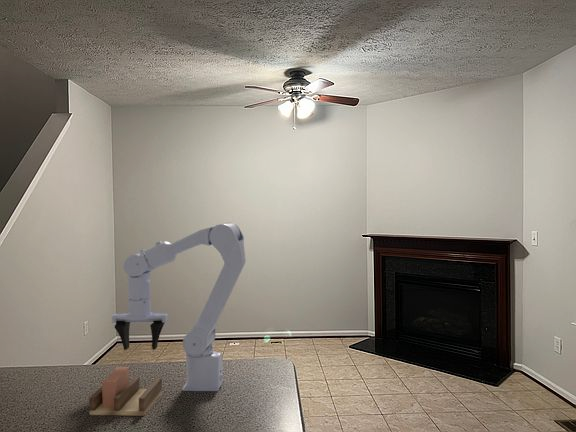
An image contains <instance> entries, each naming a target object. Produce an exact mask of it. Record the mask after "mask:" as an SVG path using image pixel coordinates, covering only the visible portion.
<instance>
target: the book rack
mask: <svg viewBox="0 0 576 432" xmlns="http://www.w3.org/2000/svg"><path fill="white" fill-rule="evenodd" d="M162 379H163V378H162V377H156V378H155V379H154V381H153V382H152V383H151V384H150V385H149V386H148V387H147V388H141V387H140V386H141V385H140V376H139V377H136V376H135V377H133V379H132V380H131V381H129V384H128V385H127V386H126V387H124V388H123V389H122V390H121V391H120V392H119V393H118V394H117V395H116V396H115V397H114V407H103V396H102V386H101V387H99V388H98V389H97V390H96V391H95V392H93V394H92V395H90V396H89V398H88V401H89V403H88V404H89V405H88V406H89V416H135V417H136V416H142V417H143V416H146V414H147V413H148V412H149V410H150V409H151V408H152V407H153V405H154V404H155V403H156V402H157V401H158V398H159V397H160V396H161V395H162V394H163V380H162Z"/></svg>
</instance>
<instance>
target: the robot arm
mask: <svg viewBox="0 0 576 432" xmlns="http://www.w3.org/2000/svg"><path fill="white" fill-rule="evenodd" d="M244 244H245V237H244V234H243V233H242V231H241V229H240V227H239V226H238V225H237V224H236V223H234V222H226V223H221V224H216V225H214V226H211V227H207V228H202V229H199V230H197V231H195V232H194V233H190V234H189V235H187V236H185V237H183V238H181V239H179V240H176V241H175V242H172V243H171V242H169V241H167V240H164V241H162V240H158V241H157V242H155V245H153V246H151V247H148V248H147V249H146V248H142V249H140V251H139V253H133V254H130V255H129V256H128V257H127V258H126V259H125V260H124V262H123V269H124V272H125V274H127V299H128V300H127V303H128V312H126V313H114V314H112V315H111V323H112V324H113V323H114V329H115V330H116V333H117V334H118V335H119V338H120V340H121V343H122V347H123V350H124V351H127V350H128V349H129V348H130V325H131V323H150V326H149V328H150V331H151V333H150V334H151V349H152V350H153V351H154V350H156V349H157V348H158V343H159V339H160V335H161V332H162V330H163V327H164V325H165V323H167V322H168V319H169V318H168V315H169V314H168V313H158V312H152V306H151V303H152V301H151V300H152V299H151V271H153V270H156V269H159V268H160V267H164V266H165V265H168V264H170V263H172V262H174V261H175V259H176V258H177V255H178V254H181V253H183V252H185V251H188V250H190V249H193V248H195V247H198V246H201V245H204V246H213V247H214V248H215V250H216V251H217V252H218V253H220V256H221V257H222V260H223V262H224V264H223V266H222V268H221V271H220V273H219V275H218V277H217V279H216V281H215V283H214V285H213V288H212V290H211V291H210V294H209V296H208V298H207V301H206V303H205V305H204V306H203V309H202V311H201V313H200V315H199V317H198V319H197V320H196V321H195V323H194V324H193V326H192V329H191V330H190V332H188V333H187V334H186V335H184V337H183V339H182V348H183V351H185V365H186V369H185V370H186V371H185V372H186V382H185V384H184V385H183V387H182V389H181V390H182V391H183V392H188V391H189V392H219V390H220V389H221V386H222V384H223V382H224V364H223V363H224V361H223V353H222V352H218V351H214V350H215V349H214V347H213V343H214V342H215V340H216V329H217V327H218V322H219V321H220V320H219V319H220V318H221V315H222V313H223V312H224V308H225V306H226V305H227V302H228V300H229V298H230V296H231V294H232V292H233V290H234V288H235V286H236V283H237V281H238V279H239V277H240V275H241V273H242V271H243V269H244V266H245V264H246V253H245V251H246V250H245V245H244Z"/></svg>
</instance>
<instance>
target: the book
mask: <svg viewBox="0 0 576 432" xmlns="http://www.w3.org/2000/svg"><path fill="white" fill-rule="evenodd" d="M129 368H130V367H129V366H121V367H120V366H119V367H118V366H116V368H115V369H114V370H112V372H111V373H110V374H108V375H107V377H106V378H104V379H103V380H102V382H101V385H102V386H101V387H102V396H103V407H114V397H115V396H116V395H117V394H118V393H119V392H120V391H121V390H122V389H123V388H124V387H126V386H127V385H128V384H129V383H130V371H129V370H130V369H129Z"/></svg>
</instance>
